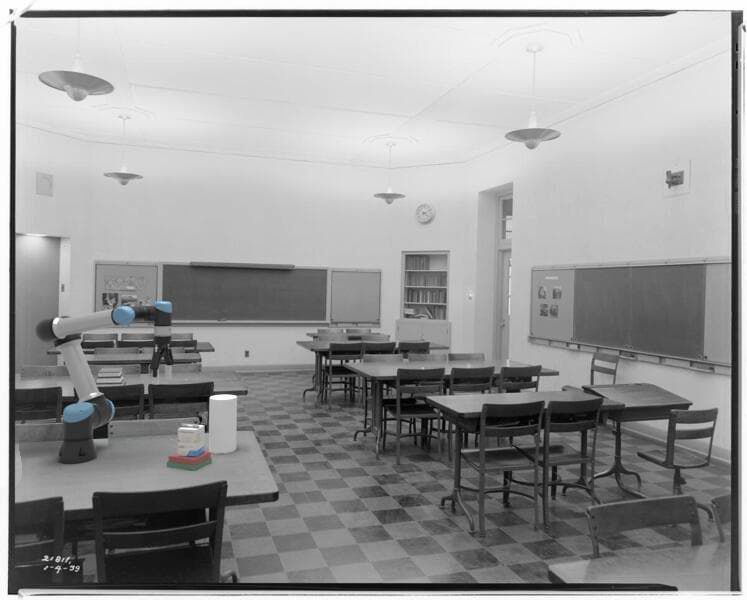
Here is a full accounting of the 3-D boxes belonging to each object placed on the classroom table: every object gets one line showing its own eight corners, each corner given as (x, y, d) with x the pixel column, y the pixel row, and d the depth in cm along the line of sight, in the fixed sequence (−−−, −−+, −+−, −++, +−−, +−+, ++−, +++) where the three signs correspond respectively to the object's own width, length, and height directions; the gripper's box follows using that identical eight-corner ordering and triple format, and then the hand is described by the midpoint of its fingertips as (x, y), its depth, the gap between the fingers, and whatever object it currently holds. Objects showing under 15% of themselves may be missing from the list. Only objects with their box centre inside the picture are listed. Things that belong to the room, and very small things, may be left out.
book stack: (166, 467, 235) (166, 455, 235) (184, 459, 246) (185, 448, 246) (194, 471, 231) (194, 460, 230) (211, 463, 242) (211, 452, 242)
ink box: (204, 451, 242) (205, 421, 242) (196, 457, 234) (196, 425, 234) (186, 450, 243) (187, 419, 243) (177, 455, 235) (177, 424, 235)
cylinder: (231, 444, 269) (232, 393, 269) (239, 451, 259) (240, 398, 258) (205, 448, 262) (206, 395, 262) (213, 455, 252) (214, 400, 251)
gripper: (159, 338, 240) (158, 386, 240) (181, 333, 265) (180, 377, 265) (142, 337, 240) (141, 386, 241) (166, 332, 265) (165, 376, 265)
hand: (162, 381), depth 253 cm, fingers open, 13 cm apart
